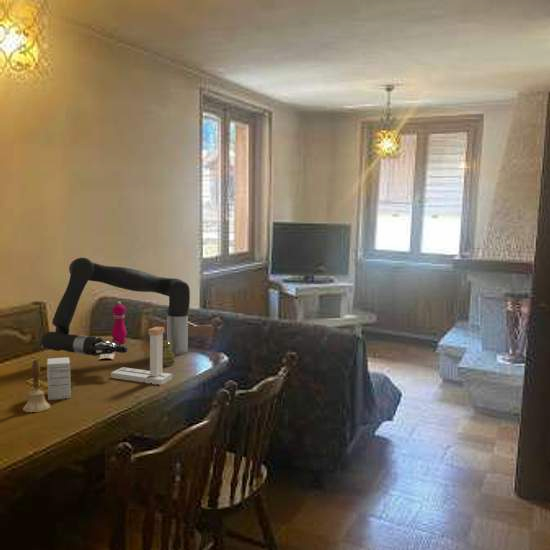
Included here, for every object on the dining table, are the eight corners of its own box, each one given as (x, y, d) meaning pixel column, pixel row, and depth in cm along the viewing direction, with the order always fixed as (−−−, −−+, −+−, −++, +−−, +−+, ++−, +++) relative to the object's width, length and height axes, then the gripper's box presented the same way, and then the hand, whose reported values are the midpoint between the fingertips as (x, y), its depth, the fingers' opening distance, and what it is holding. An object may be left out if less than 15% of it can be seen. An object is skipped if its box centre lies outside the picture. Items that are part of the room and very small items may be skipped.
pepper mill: (129, 341, 271) (129, 300, 268) (123, 344, 264) (123, 303, 261) (114, 340, 272) (114, 299, 269) (108, 343, 264) (108, 302, 262)
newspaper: (104, 347, 260) (104, 344, 260) (119, 347, 261) (119, 343, 261) (98, 362, 237) (98, 358, 237) (115, 361, 238) (115, 357, 238)
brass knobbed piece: (176, 362, 238) (177, 339, 237) (171, 367, 231) (172, 343, 230) (159, 361, 239) (160, 338, 238) (154, 366, 232) (154, 342, 230)
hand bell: (18, 407, 181) (17, 359, 179) (44, 401, 187) (43, 355, 185) (28, 415, 175) (27, 365, 174) (54, 408, 181) (53, 361, 179)
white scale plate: (122, 372, 222) (122, 366, 222) (172, 379, 215) (172, 373, 215) (111, 377, 214) (110, 372, 214) (161, 385, 208) (161, 379, 207)
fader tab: (155, 372, 216) (156, 326, 214) (164, 373, 215) (164, 327, 212) (148, 376, 210) (148, 329, 208) (156, 377, 209) (156, 330, 207)
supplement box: (47, 393, 195) (47, 358, 194) (70, 391, 198) (69, 356, 196) (47, 400, 189) (46, 364, 187) (70, 398, 191) (70, 362, 190)
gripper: (77, 339, 215) (116, 344, 209) (98, 332, 227) (135, 336, 222) (77, 358, 216) (116, 363, 210) (98, 350, 228) (135, 354, 223)
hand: (126, 349), depth 216 cm, fingers closed
